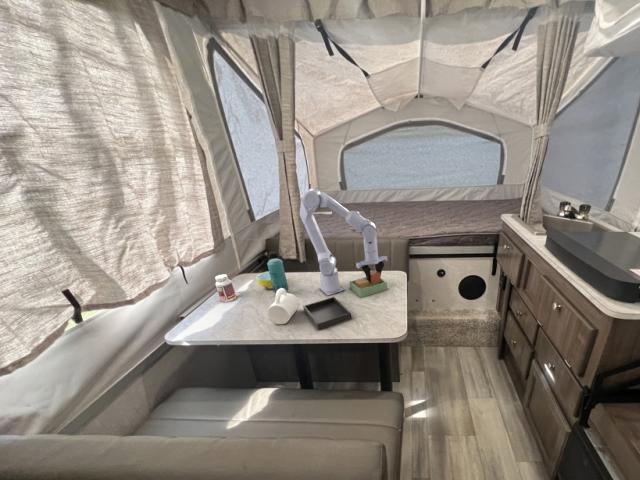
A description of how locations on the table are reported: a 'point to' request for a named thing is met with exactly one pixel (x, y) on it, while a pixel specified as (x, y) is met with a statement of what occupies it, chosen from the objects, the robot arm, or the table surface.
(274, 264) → the beverage bottle
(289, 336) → the table surface
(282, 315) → the mug
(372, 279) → the terracotta block
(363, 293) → the bin
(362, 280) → the beech block
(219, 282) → the pill bottle
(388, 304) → the table surface
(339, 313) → the pan
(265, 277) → the bowl
